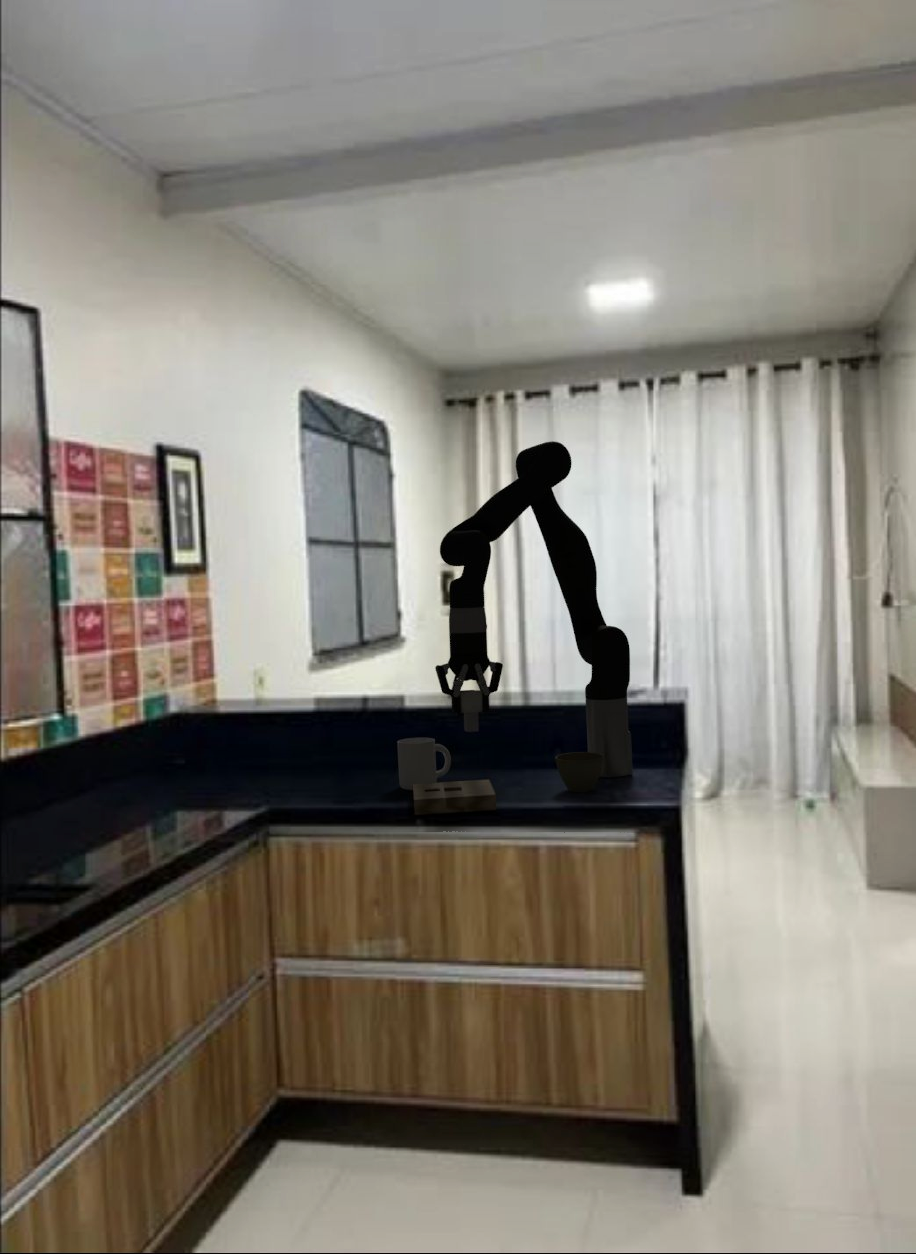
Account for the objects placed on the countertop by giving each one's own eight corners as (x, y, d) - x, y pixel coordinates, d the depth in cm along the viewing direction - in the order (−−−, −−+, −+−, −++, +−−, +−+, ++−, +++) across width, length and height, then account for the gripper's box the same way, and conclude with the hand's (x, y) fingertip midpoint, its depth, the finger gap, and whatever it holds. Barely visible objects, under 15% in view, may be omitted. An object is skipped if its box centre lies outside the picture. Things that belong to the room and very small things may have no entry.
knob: (479, 728, 224) (478, 688, 224) (486, 731, 220) (484, 690, 219) (457, 730, 223) (455, 689, 223) (462, 733, 218) (461, 691, 218)
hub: (489, 793, 230) (488, 778, 230) (496, 809, 214) (495, 793, 214) (413, 798, 230) (412, 782, 229) (414, 815, 214) (413, 798, 213)
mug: (446, 779, 248) (444, 734, 248) (458, 786, 241) (455, 739, 240) (395, 785, 245) (392, 739, 244) (405, 792, 237) (402, 744, 236)
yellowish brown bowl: (549, 793, 227) (547, 759, 227) (567, 784, 236) (566, 751, 236) (594, 796, 223) (593, 761, 222) (611, 786, 231) (610, 752, 231)
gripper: (497, 628, 226) (499, 710, 227) (429, 631, 222) (432, 714, 223) (507, 629, 219) (509, 714, 219) (437, 632, 215) (440, 718, 216)
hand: (470, 714), depth 221 cm, fingers closed on knob, 4 cm apart
